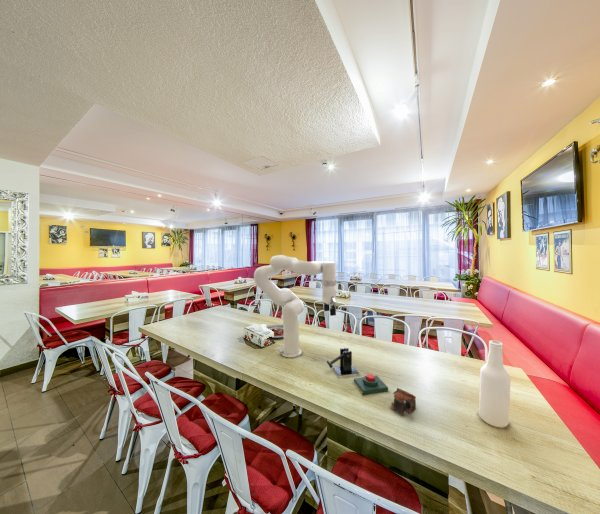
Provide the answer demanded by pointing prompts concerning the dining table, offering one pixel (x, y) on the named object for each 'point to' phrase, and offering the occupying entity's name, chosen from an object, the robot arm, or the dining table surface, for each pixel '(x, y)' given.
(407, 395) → the miniature brown house
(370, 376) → the red push button
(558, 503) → the dining table surface
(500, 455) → the dining table surface
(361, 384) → the button block
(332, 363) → the switch lever
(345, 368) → the switch bracket
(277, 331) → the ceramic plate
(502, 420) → the alcohol
